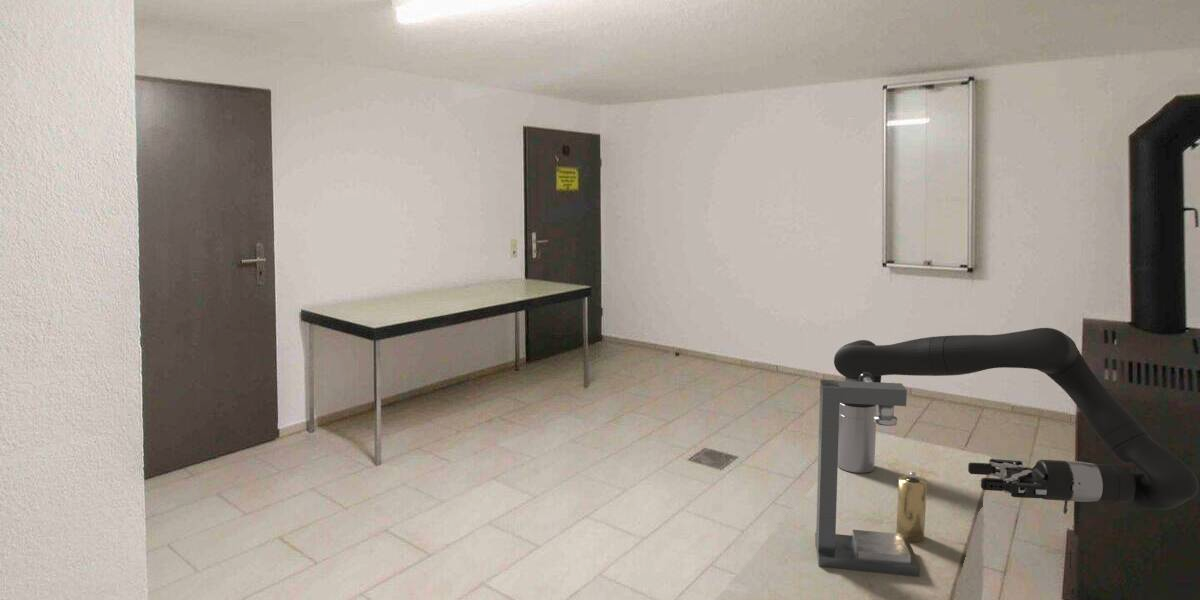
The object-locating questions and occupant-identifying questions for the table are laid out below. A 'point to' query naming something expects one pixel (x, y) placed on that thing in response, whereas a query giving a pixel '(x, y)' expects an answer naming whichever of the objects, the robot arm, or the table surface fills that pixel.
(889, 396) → the press
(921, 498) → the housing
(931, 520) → the table surface
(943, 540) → the table surface
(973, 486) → the table surface
